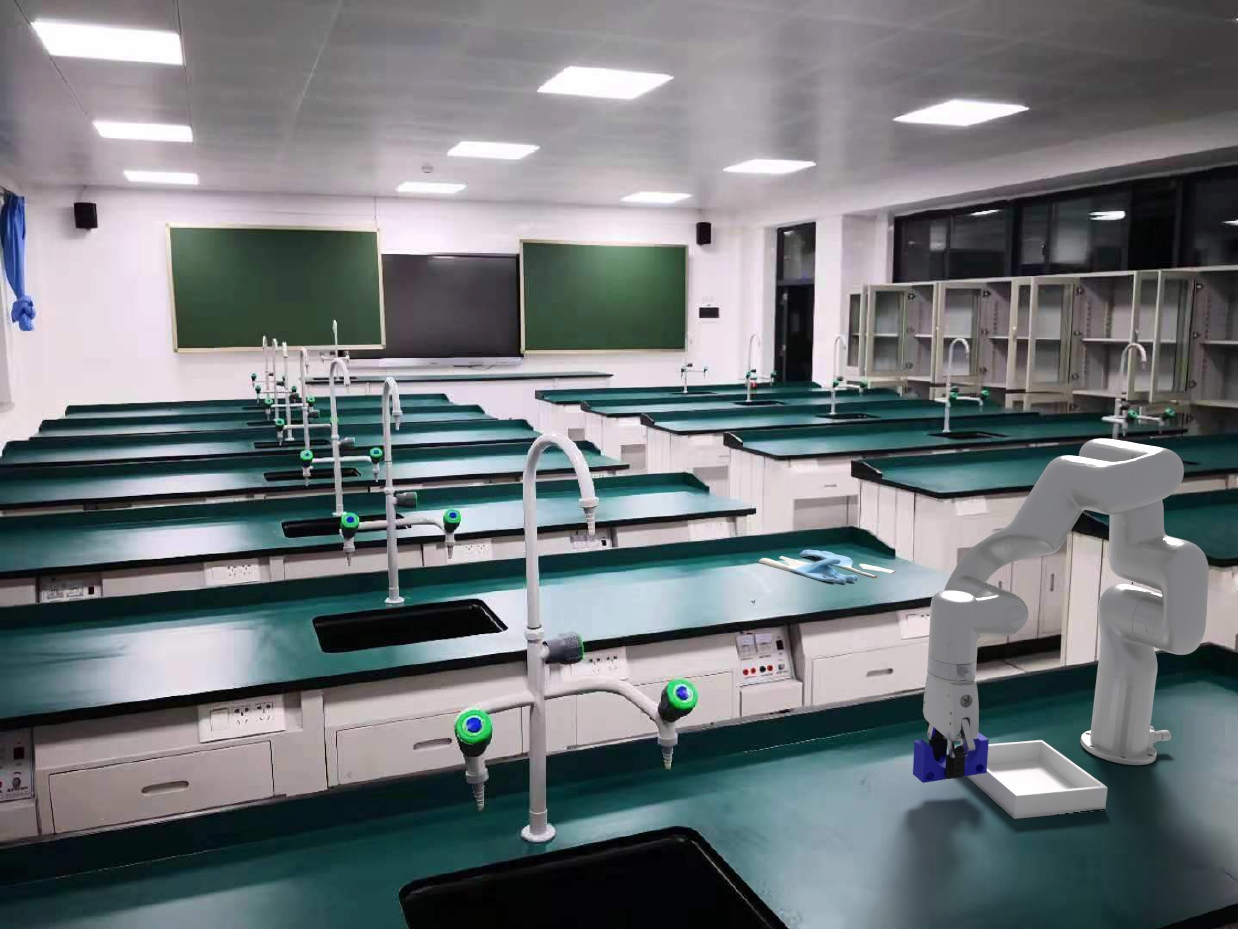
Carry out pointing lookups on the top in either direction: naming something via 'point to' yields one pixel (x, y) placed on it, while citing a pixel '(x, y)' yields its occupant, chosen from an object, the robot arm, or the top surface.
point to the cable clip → (935, 770)
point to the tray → (1037, 781)
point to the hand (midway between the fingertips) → (945, 768)
